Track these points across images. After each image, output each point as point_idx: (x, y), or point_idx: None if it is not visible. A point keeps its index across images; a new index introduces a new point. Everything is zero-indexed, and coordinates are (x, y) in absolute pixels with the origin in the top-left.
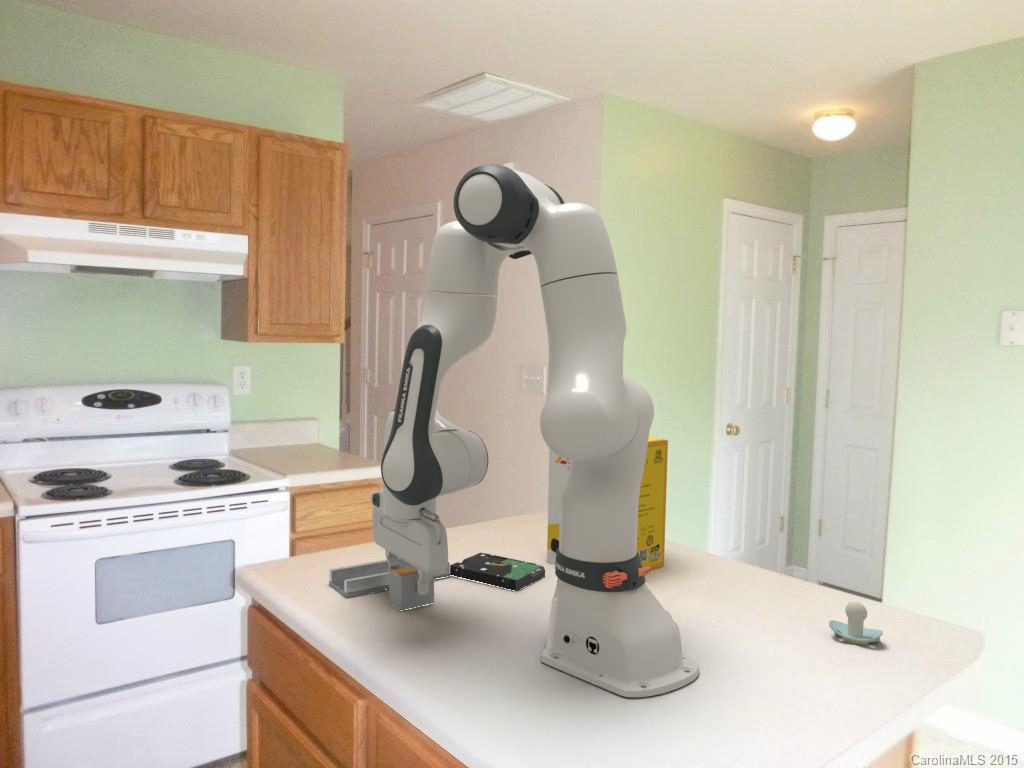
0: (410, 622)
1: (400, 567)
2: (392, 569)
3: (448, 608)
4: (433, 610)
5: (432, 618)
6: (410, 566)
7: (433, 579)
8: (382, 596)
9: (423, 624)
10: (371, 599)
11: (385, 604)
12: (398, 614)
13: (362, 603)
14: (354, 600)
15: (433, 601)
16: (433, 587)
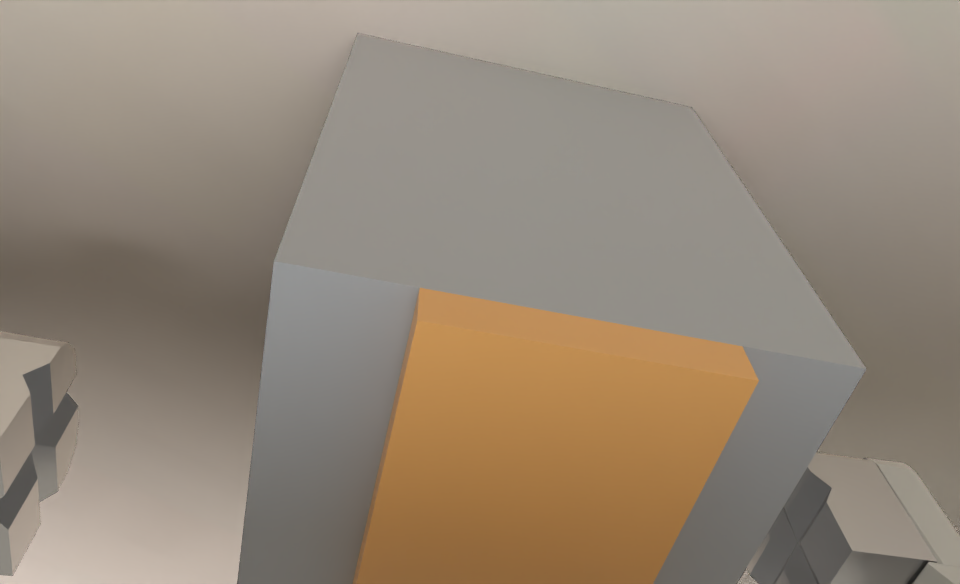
0: None
1: (8, 456)
2: (19, 556)
3: (934, 73)
4: (812, 232)
5: (931, 363)
6: (358, 576)
7: (797, 284)
8: (75, 341)
9: (934, 479)
10: (100, 448)
11: None
12: None
13: (155, 537)
14: (41, 542)
15: (696, 123)
16: (753, 213)
